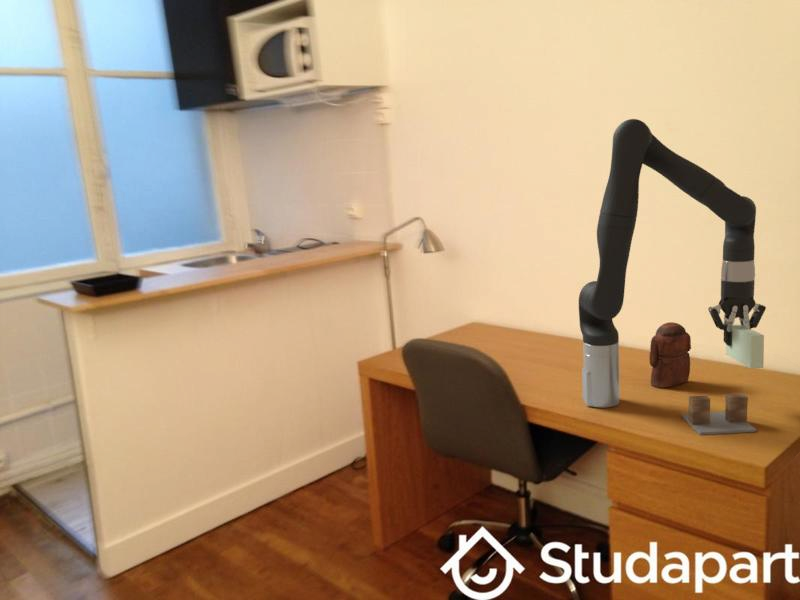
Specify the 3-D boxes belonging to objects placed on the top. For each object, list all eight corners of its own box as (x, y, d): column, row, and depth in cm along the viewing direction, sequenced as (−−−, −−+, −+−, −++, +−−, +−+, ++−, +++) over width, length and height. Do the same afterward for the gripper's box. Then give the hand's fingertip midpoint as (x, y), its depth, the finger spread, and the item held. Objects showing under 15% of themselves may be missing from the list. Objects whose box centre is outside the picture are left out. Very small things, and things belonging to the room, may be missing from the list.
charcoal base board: (699, 434, 164) (699, 432, 164) (681, 416, 176) (681, 413, 176) (756, 431, 163) (756, 429, 163) (734, 413, 175) (734, 411, 175)
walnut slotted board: (692, 424, 169) (692, 399, 167) (688, 421, 171) (688, 396, 170) (747, 421, 168) (747, 396, 167) (742, 418, 170) (743, 393, 169)
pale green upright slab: (750, 368, 165) (750, 335, 164) (725, 354, 179) (726, 324, 177) (763, 368, 165) (763, 335, 163) (737, 353, 178) (738, 323, 177)
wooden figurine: (675, 376, 205) (676, 317, 202) (692, 382, 200) (693, 321, 196) (645, 384, 201) (644, 324, 197) (661, 390, 195) (661, 328, 191)
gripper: (759, 273, 176) (757, 339, 179) (703, 276, 176) (701, 342, 180) (774, 278, 168) (771, 347, 172) (715, 282, 169) (713, 350, 173)
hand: (735, 344), depth 176 cm, fingers closed on pale green upright slab, 3 cm apart
